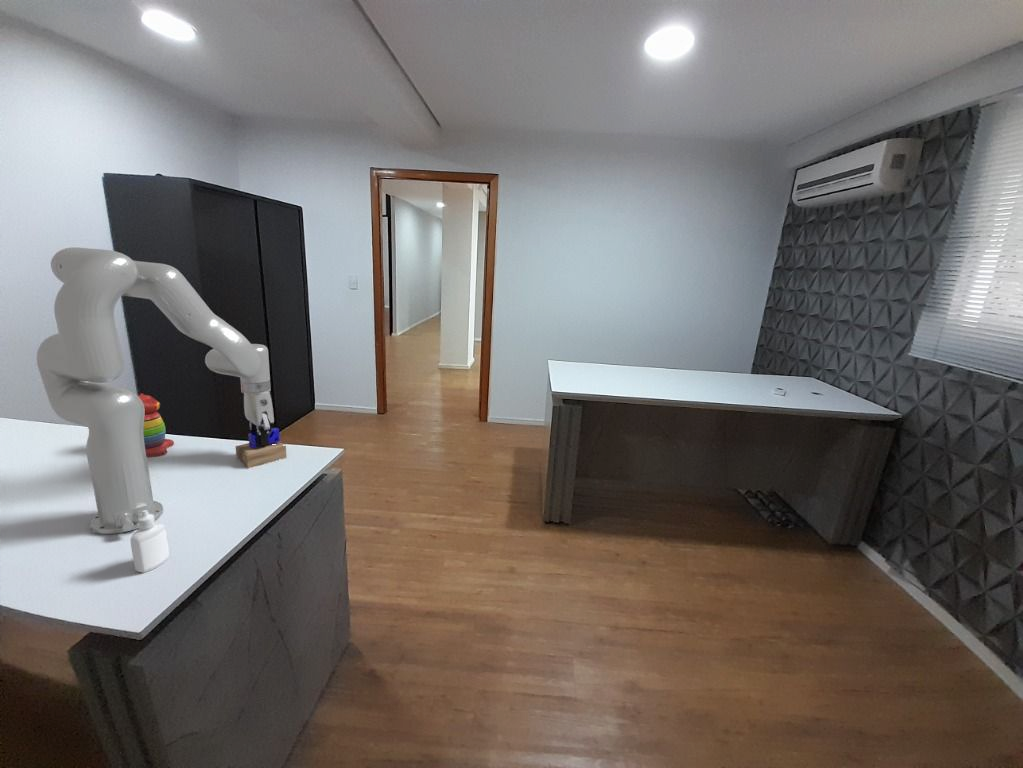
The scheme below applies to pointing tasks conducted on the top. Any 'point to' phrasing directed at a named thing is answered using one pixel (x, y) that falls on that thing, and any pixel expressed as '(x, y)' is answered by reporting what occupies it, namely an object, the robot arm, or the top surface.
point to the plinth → (260, 454)
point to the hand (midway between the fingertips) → (260, 443)
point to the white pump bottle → (149, 544)
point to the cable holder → (272, 435)
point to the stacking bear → (154, 428)
